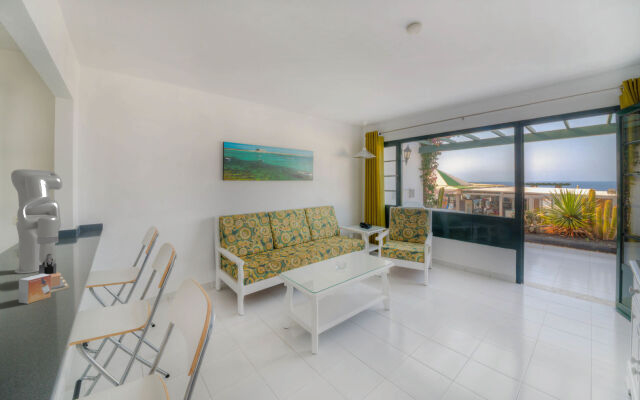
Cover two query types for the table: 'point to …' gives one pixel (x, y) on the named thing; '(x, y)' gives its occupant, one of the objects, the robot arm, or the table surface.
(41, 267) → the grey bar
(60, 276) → the board
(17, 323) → the table surface
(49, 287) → the small box
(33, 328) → the table surface
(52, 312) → the table surface
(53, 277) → the cube
